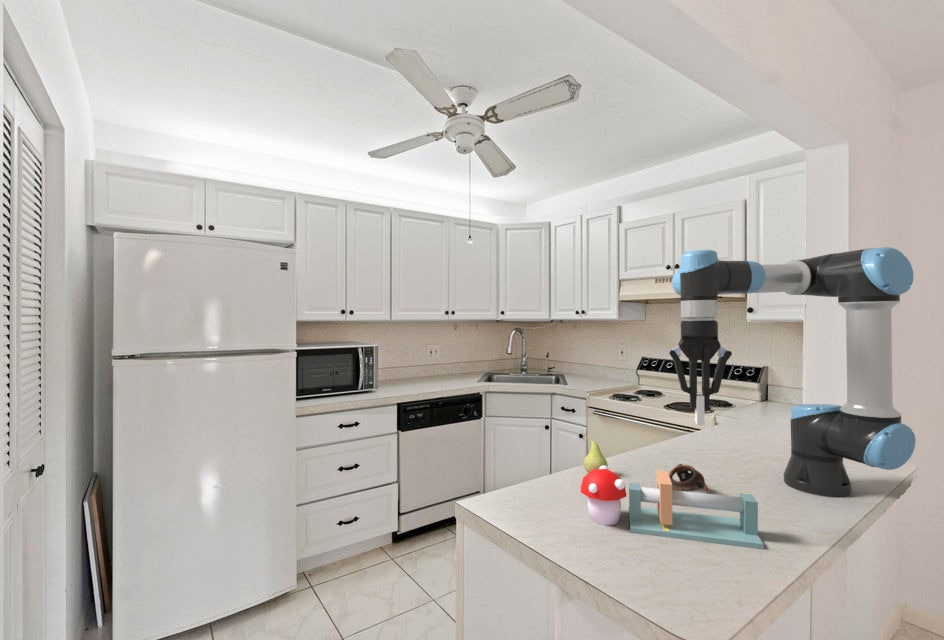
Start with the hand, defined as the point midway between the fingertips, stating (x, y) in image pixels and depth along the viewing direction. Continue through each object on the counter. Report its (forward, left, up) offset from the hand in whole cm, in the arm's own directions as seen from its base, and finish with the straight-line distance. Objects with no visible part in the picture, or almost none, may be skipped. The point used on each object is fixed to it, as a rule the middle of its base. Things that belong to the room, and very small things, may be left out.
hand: (699, 423), depth 102 cm
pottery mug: (-1, -23, -24) cm, 34 cm away
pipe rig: (+2, 0, -24) cm, 24 cm away
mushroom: (+21, +1, -24) cm, 32 cm away
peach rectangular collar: (+8, 0, -22) cm, 23 cm away
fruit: (+24, -29, -24) cm, 45 cm away
